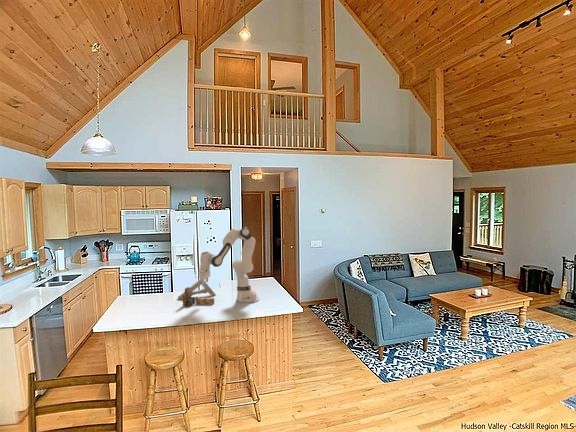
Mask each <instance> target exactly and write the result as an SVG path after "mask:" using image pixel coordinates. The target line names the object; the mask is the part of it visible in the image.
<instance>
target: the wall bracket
mask: <svg viewBox="0 0 576 432" xmlns="http://www.w3.org/2000/svg"><path fill="white" fill-rule="evenodd" d="M204 282H205V284H204V285H203V284H202V281H201V280H200V279H198V281H197V280H196V282H195V283H193V284H192V285H191V286H189V287H190V290H191V297H193V296H195V295H200V294H207V293H208V294H209V295H210V296H216V293H215V291H214V290H213V289H212V288H211V287H210V286H209V284H208V282H206V280H204ZM200 286H202V287H203V289H202V288H201V289H198V290H196V289H197V288H199V287H200ZM184 293H185V291H183V292H182V293H180V295H178V296H177V300H183V294H184Z"/></svg>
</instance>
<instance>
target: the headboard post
mask: <svg viewBox="0 0 576 432" xmlns="http://www.w3.org/2000/svg"><path fill="white" fill-rule="evenodd" d="M190 287H191V286H189V287H186V288H184V292H185V293H184V294H183V299H182V307H183V308H186V307H193V305H196V297H194V296H191V290H190Z"/></svg>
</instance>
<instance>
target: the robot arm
mask: <svg viewBox="0 0 576 432" xmlns="http://www.w3.org/2000/svg"><path fill="white" fill-rule="evenodd" d="M238 239H240V240H244V242H243V243H244V244H243V246H242V250H241V252H240V253H241V256H242V259H237V260H234V261H233V262H232V264H231V265H232V269H233V270H234V272H235V275H236V281H237V283H236V284H237V286H236V292H237V293H236V294H237V295H236V301H237V302H238V303H240V304H241V303H242V304H244V303H257V302H258V301H259V300H260V297H259V296H258V295H257V292H256V291H254V290H253V289H252V285H250V283H249V282H250V281H249V276H248V275H247V274H248V273H251V272H252V271H253V270H254V265H253V262H252V257H253V254H254V251H255V247H256V241H257V240H256V238H254V237H253V236H252V231H251V229H250V228H248V227H247V226H245V227H242V228H241V229H237V228H232V229H231V230H229V231H228V232H227V233H226V235H225V236H224V238H223V239H222V248H221V250H220V251H219V252H218V253H217V254H213V253H211V252H209V251H204V252H202V253H201V254H200V258H199V259H200V266H199V267H200V268H199V269H198V273H199V275H198V276H199V278H198V279H199V280H201V281H202V284H203V285H204V284H205V282H206V283H208V282H209V278H210V277H211V268H210V267H211V265H212V267H215V268H216V267H217V268H218V267H220V266H221V265H222V264H223V261H224V259H225V257H226V255H227V254H228V253H229V251H230V249H231V248H232V247H233V245H234V244H235V242H237V240H238ZM204 281H205V282H204ZM202 284H201V285H202Z"/></svg>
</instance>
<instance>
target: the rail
mask: <svg viewBox="0 0 576 432" xmlns="http://www.w3.org/2000/svg"><path fill="white" fill-rule="evenodd" d="M195 305H215V297H199V296H196V297H195Z"/></svg>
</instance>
